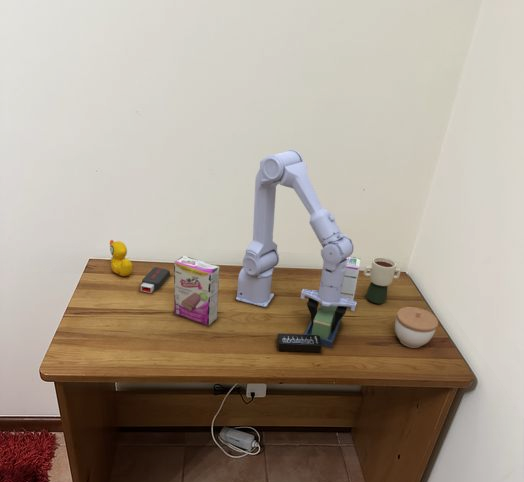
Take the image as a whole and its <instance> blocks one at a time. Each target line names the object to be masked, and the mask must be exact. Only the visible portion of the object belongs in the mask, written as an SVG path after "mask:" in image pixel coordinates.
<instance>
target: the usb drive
mask: <svg viewBox="0 0 524 482" xmlns="http://www.w3.org/2000/svg"><path fill="white" fill-rule="evenodd" d="M170 276H171V271H170V270H169V269H167V268H162V267H157V266H155V267H152V269H151V270H150V271H149V272H148V273H147V274H146V275H145V276H144V277H143V278H142V279H141V285H139V286H140V292H144V293H149V294H152V293H153V292H155V291H158V290H160V288H161V287H162V286H163V285H164V284H165V283H166V281H168V279H169V278H170Z"/></svg>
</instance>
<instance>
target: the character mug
mask: <svg viewBox="0 0 524 482" xmlns="http://www.w3.org/2000/svg"><path fill="white" fill-rule="evenodd" d="M368 270H369V272H368ZM401 272H402V269H401V268H397V263H396V261H395V260H393V259H391V258H389V257H385V256H377V257H374V258H373V259H372V261H371V264H370V265H366V266H364V269H363V274H362V275H363V276H364V277H368V280H369V281H370V283H369V286H368V288H367V290H366V294H365V297H366V299H367V300H368V301H370V302H371V303H374V304H383V303H385V302H387V297H388V288H389V287H388V286H390V285H391V284H392V283H393V281H394V279H397V280H398V279H399V278H400V276H401ZM395 273H396V274H395Z"/></svg>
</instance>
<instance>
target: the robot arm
mask: <svg viewBox="0 0 524 482" xmlns="http://www.w3.org/2000/svg"><path fill="white" fill-rule="evenodd" d="M307 168H308V166H307V164H306V162H305V161H304V159H303V156H302V154H301V153H300V152H299V151H298V150H296V149H290V150H286V151H284V152H280V153H275V154H270V155H267V156H265V157H264V158H262V159H261V160H260V161H259V168H258V171H257V173H256V176H255V182H254V204H253V224H252V225H253V226H252V227H253V229H252V240H251V242H250V243H249V245H248V246H247V247H246V248H245V255H244V257H243V259H242V268H241V269H240V271H239V274H238V277H237V288H236V297H235V300H236V301H238V302H243V303H245V304H246V303H247V304H251V305H254V306H258V307H262V308H267V307H268V305H269V304H270V302H271V301H272V299H273V298H274V296H275V293H273V292H271V289H272V282H273V281H272V280H273V272H274V271H275V267H276V266H278V264H279V262H280V256H279V255H280V254H279V252H278V244H277V243H276V242H275V241H274V224H275V212H276V211H275V208H276V192H277V186H278V185H280V186H283V187H287V188H289V189H293V191H294V192H295V194H296V195H297V196H298V198H299V199H300V201H301V203H302V204H303V207H305V209H306V211H307V212H308V213H309V216H310V218H309V222H308V223H309V225H310V227H311V229H312V230H313V232H314V234H315V236H316V238H317V240H318V242H319V243H320V245H321V247H322V248H321V249H320V255H321V258H322V260H323V262H322V271H321V275H320V282H319V288H318V289H317V290H316V289H306V288H302V290H301V291H300V292H301V293H300V299H303V300H305V299H307V302H306V307H307V309H308V311H309V314H310V315H309V316H310V321H311V320H312V325H313V322H314V318H315V316H316V314H317V311H318V310H319V304H320V303H322V305H323V306H327V307H329V306H330V305H332V306H338V307H337V309H336V311H335V319H334V323H333V326H332V330H335V328H336V325H337V323H338V322H339V320H340V319H341V318H342V319H343V318H344V315H346V312H347V310H350V311H351V312H356V309H357V308H356V307H357V303H358V301H356V300H350V299H348V298H345V297H343V296H341V290H342V285H343V280H344V275H345V270H346V265H347V260H348V259H346V258H348V257H349V256H352V254H353V252H354V243H353V240H352V238H350V236H348V235H345V234H344V232H342V231H341V229H340V227H339V225H338V224H337V222H336V220H335V219H336V217H335V215H334V214H332V213H331V211H330V210H328V209H325V208H323V206H322V204H321V203H322V202H321V201H320V199H319V197H318V194H317V193H316V191H315V188H314V187H313V184H312V182H311V179H310V177H309V175H308V169H307ZM347 308H348V309H347Z"/></svg>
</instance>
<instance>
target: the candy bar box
mask: <svg viewBox="0 0 524 482" xmlns="http://www.w3.org/2000/svg"><path fill="white" fill-rule="evenodd" d="M219 284H220V266H218V265H215V264H212V263H208V262H206V261H203V260H199V259H196V258H194V257H190V256H187V255H182V256H180V257H179V258H178V259H176V260H175V261H174V262H173V285H174V286H173V294H174V297H173V298H174V299H173V303H174V305H173V306H174V307H173V309H174V312H173V313H174V315H176V316H178V317H181V318H183V319H184V318H185V319H187V320H191V321H193V322H196V323H199V324H202V325H204V326H207V327H210V325H212V324H213V323H214V322H215V321H216V320H217V319H218V308H219V307H218V306H219V288H220V287H219V286H220V285H219Z"/></svg>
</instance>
